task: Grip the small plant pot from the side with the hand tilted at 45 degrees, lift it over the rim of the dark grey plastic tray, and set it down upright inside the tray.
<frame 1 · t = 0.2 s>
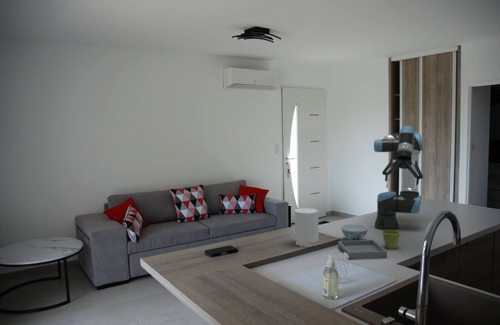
hand: (400, 188, 204), 34 cm above the table, tool tilted 30°, fingers open, 13 cm apart
plant pot: (390, 247, 215), on the table
canister: (306, 244, 226), on the table
chinaware: (354, 240, 229), on the table
tray: (361, 252, 208), on the table
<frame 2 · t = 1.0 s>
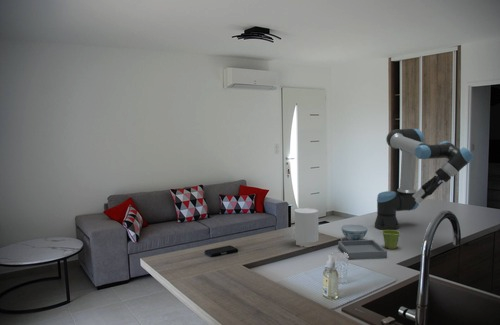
hand: (415, 199, 209), 27 cm above the table, tool tilted 45°, fingers open, 13 cm apart
nothing on the table moved.
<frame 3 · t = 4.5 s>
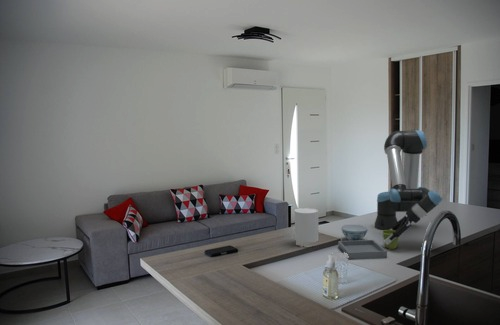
hand: (385, 240, 215), 4 cm above the table, tool tilted 45°, fingers closed on plant pot, 9 cm apart
plant pot: (390, 247, 215), on the table, touching gripper
everything else where it was.
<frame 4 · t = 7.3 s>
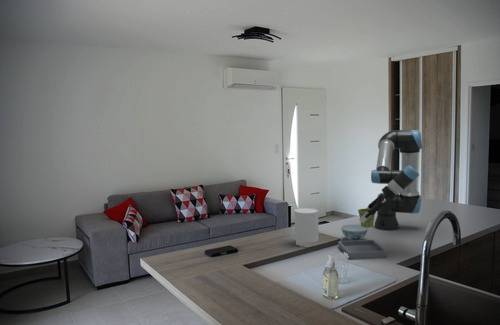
hand: (360, 219, 207), 18 cm above the table, tool tilted 45°, fingers closed on plant pot, 9 cm apart
plant pot: (367, 226, 207), point 14 cm above the table, touching gripper
everything else where it was.
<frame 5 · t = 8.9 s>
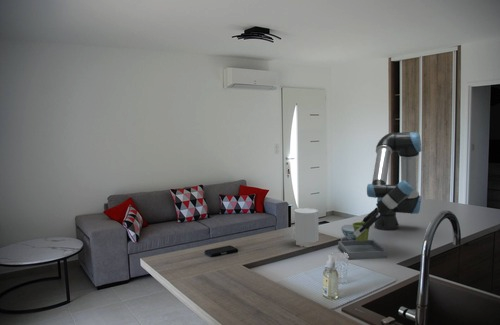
hand: (355, 232, 208), 11 cm above the table, tool tilted 45°, fingers closed on plant pot, 9 cm apart
plant pot: (361, 240, 207), point 7 cm above the table, touching gripper
everything else where it was.
when the fingers open (6 cm above the table, at t = 10.2 s): plant pot drops 1 cm, resting on tray.
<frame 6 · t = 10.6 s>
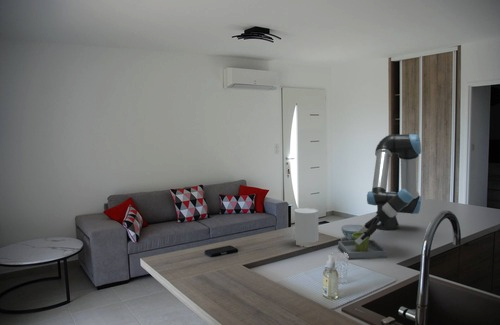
hand: (356, 239, 208), 7 cm above the table, tool tilted 45°, fingers open, 13 cm apart
plant pot: (361, 250, 208), point 1 cm above the table, touching tray
everything else where it was.
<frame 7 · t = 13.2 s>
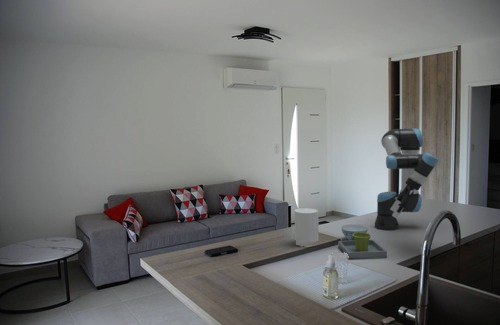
hand: (393, 213, 208), 20 cm above the table, tool tilted 30°, fingers open, 13 cm apart
nothing on the table moved.
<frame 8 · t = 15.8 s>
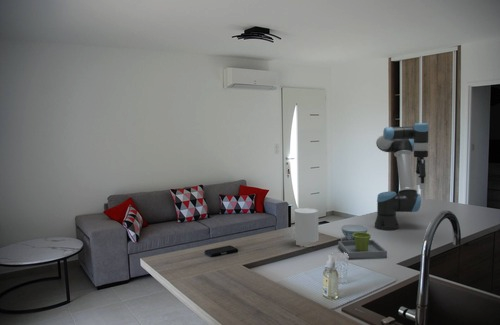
hand: (420, 186, 222), 32 cm above the table, tool pointing down, fingers open, 13 cm apart
nothing on the table moved.
at the end: plant pot inside the target area on the tray (0.1 cm from its centre), point 0.8 cm above the tray's base; plant pot tilted 0°; the gripper is holding nothing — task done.
